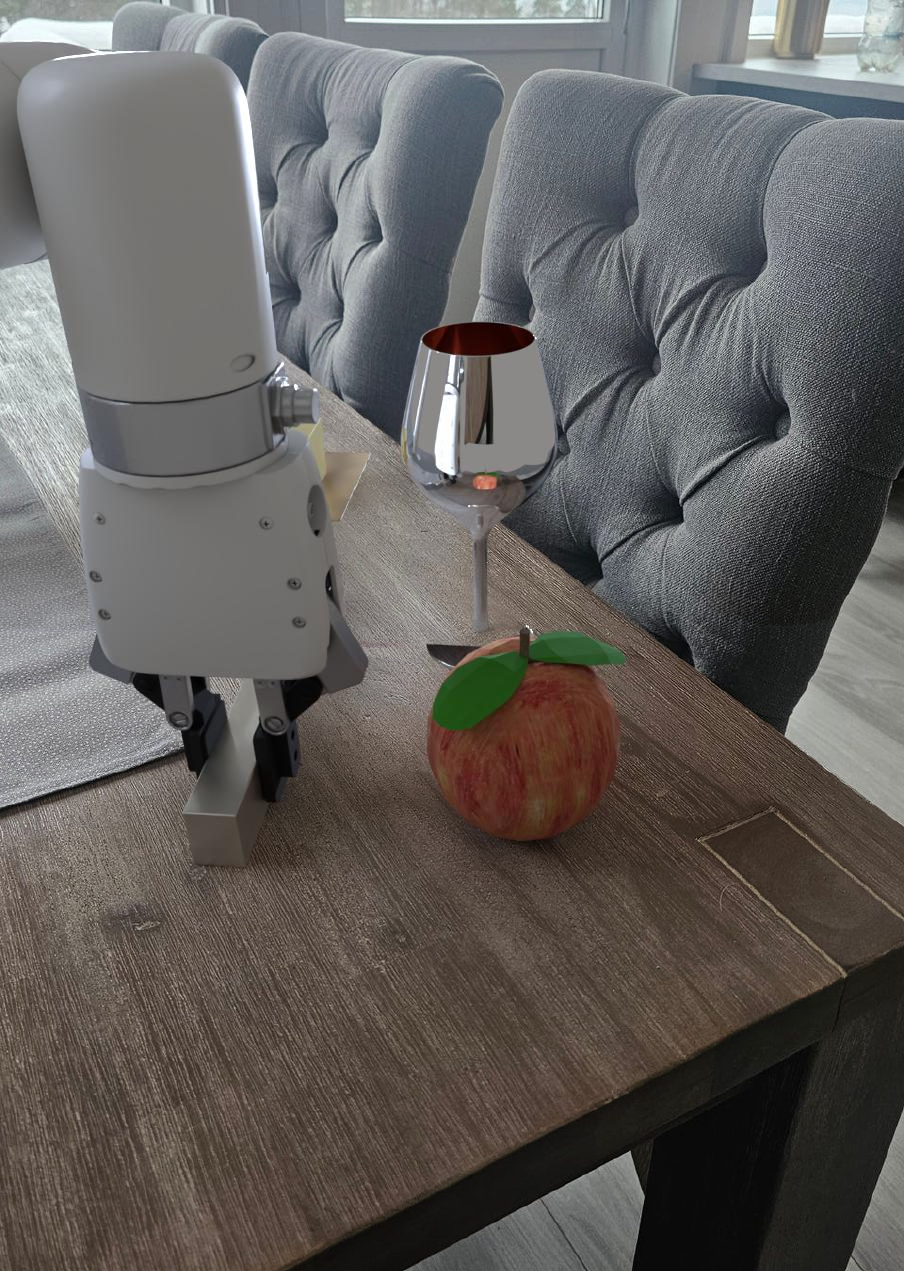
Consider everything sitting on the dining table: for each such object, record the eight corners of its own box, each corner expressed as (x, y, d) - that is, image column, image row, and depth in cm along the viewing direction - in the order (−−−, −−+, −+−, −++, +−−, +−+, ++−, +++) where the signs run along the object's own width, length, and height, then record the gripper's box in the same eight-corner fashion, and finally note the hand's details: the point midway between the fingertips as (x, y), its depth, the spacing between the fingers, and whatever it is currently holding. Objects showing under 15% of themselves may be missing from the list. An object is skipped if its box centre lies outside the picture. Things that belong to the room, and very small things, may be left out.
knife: (246, 868, 47) (235, 816, 45) (194, 865, 47) (181, 812, 45) (344, 603, 65) (339, 558, 63) (306, 601, 65) (300, 556, 63)
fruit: (396, 784, 51) (384, 608, 46) (568, 732, 55) (576, 561, 49) (470, 905, 45) (466, 715, 39) (661, 837, 48) (682, 653, 42)
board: (95, 527, 76) (92, 512, 75) (154, 461, 86) (151, 447, 85) (341, 536, 74) (340, 520, 73) (372, 466, 84) (371, 452, 83)
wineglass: (576, 632, 63) (591, 329, 53) (503, 700, 57) (505, 375, 47) (461, 595, 67) (456, 306, 57) (383, 655, 61) (361, 347, 51)
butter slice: (281, 506, 75) (274, 447, 73) (301, 471, 80) (295, 415, 78) (308, 506, 75) (302, 447, 73) (326, 472, 80) (321, 416, 78)
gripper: (406, 386, 43) (424, 742, 53) (33, 381, 45) (118, 726, 55) (373, 459, 37) (401, 847, 47) (-59, 449, 39) (56, 825, 49)
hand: (248, 779), depth 51 cm, fingers closed on knife, 2 cm apart
